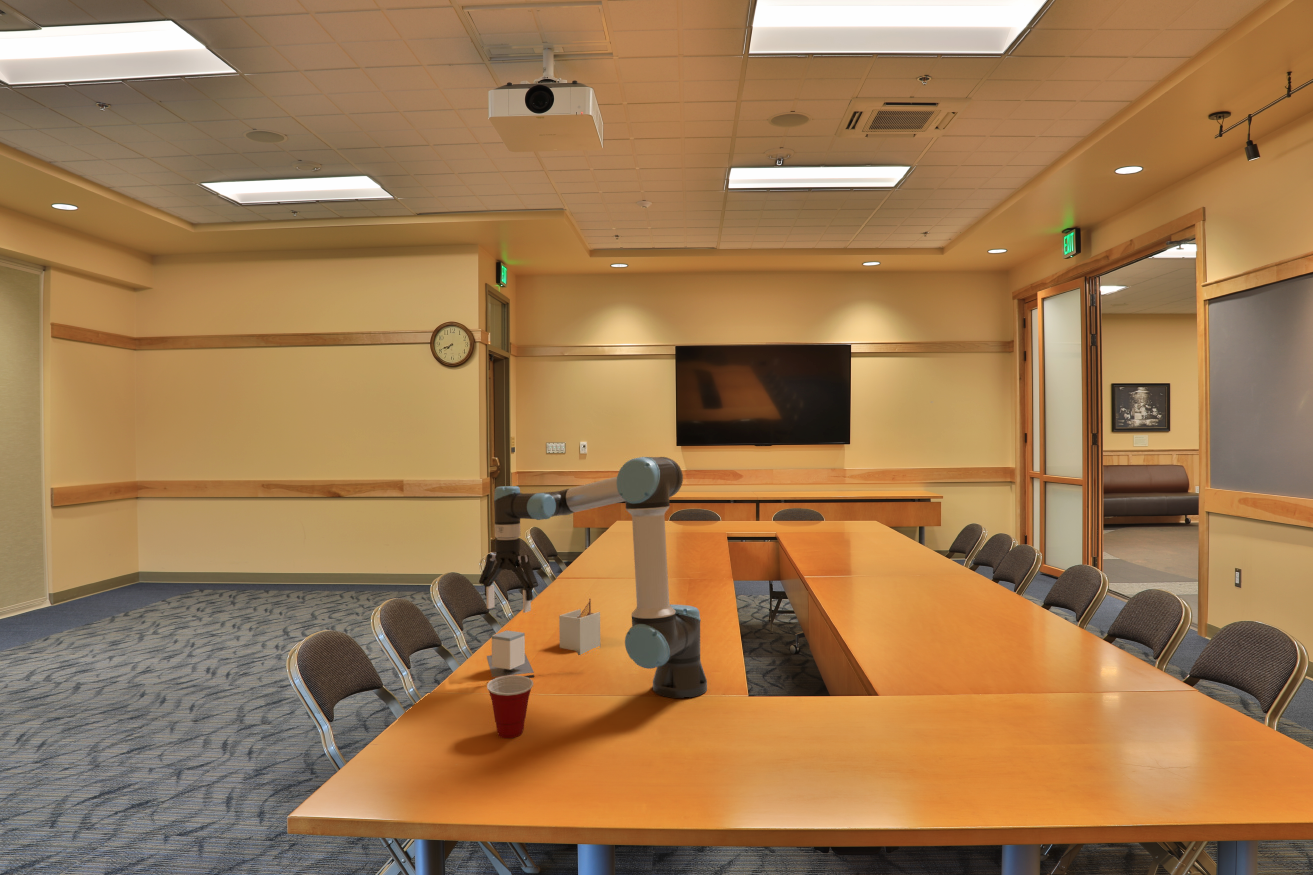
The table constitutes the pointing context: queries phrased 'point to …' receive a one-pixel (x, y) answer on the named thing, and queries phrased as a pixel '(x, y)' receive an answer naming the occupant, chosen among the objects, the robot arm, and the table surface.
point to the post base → (516, 670)
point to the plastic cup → (510, 703)
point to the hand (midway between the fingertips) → (508, 609)
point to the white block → (508, 649)
